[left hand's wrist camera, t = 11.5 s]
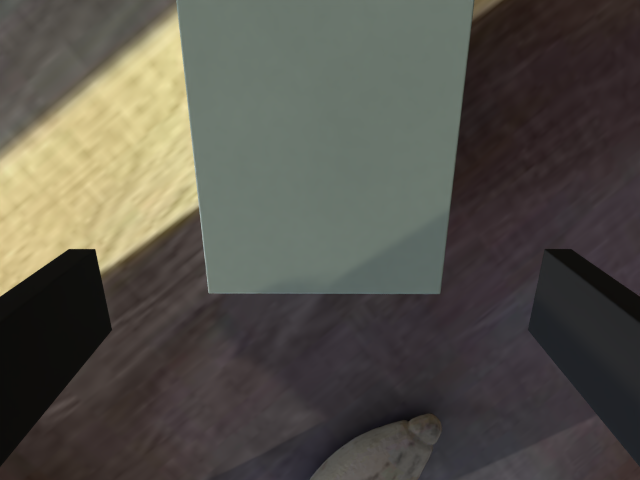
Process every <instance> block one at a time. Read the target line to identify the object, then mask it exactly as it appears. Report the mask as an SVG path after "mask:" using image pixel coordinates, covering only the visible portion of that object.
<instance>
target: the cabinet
mask: <svg viewBox="0 0 640 480" xmlns="http://www.w3.org/2000/svg"><path fill="white" fill-rule="evenodd" d="M176 1H177V10H178V19H179V28H180V37H181V46H182V55H183V64H184V73H185V82H186V91H187V101H188V110H189V119H190V128H191V137H192V146H193V155H194V164H195V173H196V182H197V191H198V200H199V210H200V219H201V228H202V237H203V246H204V255H205V264H206V273H207V282H208V291H209V293H316V294H440V291H441V282H442V274H443V265H444V256H445V248H446V239H447V231H448V222H449V214H450V205H451V196H452V188H453V179H454V171H455V162H456V153H457V145H458V136H459V128H460V119H461V110H462V102H463V93H464V85H465V76H466V68H467V59H468V50H469V42H470V33H471V25H472V16H473V7H474V0H176Z"/></svg>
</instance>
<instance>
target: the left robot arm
mask: <svg viewBox="0 0 640 480" xmlns="http://www.w3.org/2000/svg"><path fill="white" fill-rule="evenodd" d="M111 331H112V328H111V323H110V318H109V313H108V309H107V304H106V299H105V294H104V289H103V284H102V280H101V275H100V270H99V265H98V260H97V256H96V251H95V249H68V250H67V251H66V252H64V253H63V254H61V255H60V256H58V257H57V258H55V259H54V260H53V261H51V262H50V263H48V264H47V265H45V266H44V267H42V268H41V269H40V270H38V271H37V272H35V273H34V274H32V275H31V276H29V277H28V278H27V279H25V280H24V281H22V282H21V283H19V284H18V285H16V286H15V287H14V288H12V289H11V290H9V291H8V292H6V293H5V294H3V295H2V296H1V297H0V466H1V465H2V464H3V463H4V461H5V460H6V459H7V458H8V457H9V455H10V454H11V453H12V452H13V450H14V449H15V448H16V447H17V446H18V444H19V443H20V442H21V441H22V439H23V438H24V437H25V436H26V435H27V433H28V432H29V431H30V430H31V428H32V427H33V426H34V425H35V424H36V422H37V421H38V420H39V419H40V417H41V416H42V415H43V414H44V412H45V411H46V410H47V409H48V408H49V406H50V405H51V404H52V403H53V401H54V400H55V399H56V398H57V397H58V395H59V394H60V393H61V392H62V390H63V389H64V388H65V387H66V386H67V384H68V383H69V382H70V381H71V379H72V378H73V377H74V376H75V375H76V373H77V372H78V371H79V370H80V368H81V367H82V366H83V365H84V364H85V362H86V361H87V360H88V359H89V357H90V356H91V355H92V354H93V353H94V351H95V350H96V349H97V348H98V346H99V345H100V344H101V343H102V342H103V340H104V339H105V338H106V337H107V335H108V334H109V333H110V332H111ZM528 331H529V332H530V333H531V334H532V335H533V337H534V338H535V339H536V340H537V342H538V343H539V344H540V345H541V346H542V348H543V349H544V350H545V351H546V353H547V354H548V355H549V356H550V357H551V359H552V360H553V361H554V362H555V364H556V365H557V366H558V367H559V368H560V370H561V371H562V372H563V373H564V375H565V376H566V377H567V378H568V379H569V381H570V382H571V383H572V384H573V386H574V387H575V388H576V389H577V390H578V392H579V393H580V394H581V395H582V397H583V398H584V399H585V400H586V401H587V403H588V404H589V405H590V406H591V408H592V409H593V410H594V411H595V412H596V414H597V415H598V416H599V417H600V419H601V420H602V421H603V422H604V424H605V425H606V426H607V427H608V428H609V430H610V431H611V432H612V433H613V435H614V436H615V437H616V438H617V439H618V441H619V442H620V443H621V444H622V446H623V447H624V448H625V449H626V450H627V452H628V453H629V454H630V455H631V457H632V458H633V459H634V460H635V461H636V463H637V464H638V465H639V466H640V297H639V296H638V295H637V294H635V293H634V292H632V291H631V290H629V289H628V288H626V287H625V286H624V285H622V284H621V283H619V282H618V281H616V280H615V279H613V278H612V277H611V276H609V275H608V274H606V273H605V272H603V271H602V270H600V269H599V268H598V267H596V266H595V265H593V264H592V263H590V262H589V261H587V260H586V259H585V258H583V257H582V256H580V255H579V254H577V253H576V252H574V251H573V250H572V249H545V251H544V255H543V260H542V265H541V270H540V275H539V280H538V284H537V289H536V294H535V299H534V304H533V309H532V313H531V318H530V323H529V328H528Z"/></svg>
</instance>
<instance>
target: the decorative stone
mask: <svg viewBox="0 0 640 480" xmlns="http://www.w3.org/2000/svg"><path fill="white" fill-rule="evenodd" d="M441 432H442V427H441V422H440V421H439V419H438V418H437V417H436V416H435V415H433V414H425V415H420V416H418V417H415V418H413V419H411V420H410V421H406V420H402V421H398V422H394V423H391V424H387V425H384V426H382V427H378V428H375V429H372V430H370V431H368V432H366V433H364V434H361V435H359V436H358V437H356V438H354V439H353V440H351V441H349V442H348V443H346V444H345V445H344V446H342V447H341V448H340V449H338V450H337V451H336V452H335V453H334V454H332V455H331V456H330V457H329V458H328V459H327V460H326V461H325V462H324V463H323V464H322V465H321V466H320V467H319V469H318V470H317V471H316V472H315V473H314V475H313V476H312V477H311V478H310V480H417V479H418V478H419V476H420V475H421V473H422V471H423V469H424V467H425V465H426V463H427V461H428V459H429V457H430V455H431V453H432V450H433V444H435V443H436V442H437V440H438V438H439V436H440V434H441Z"/></svg>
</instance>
